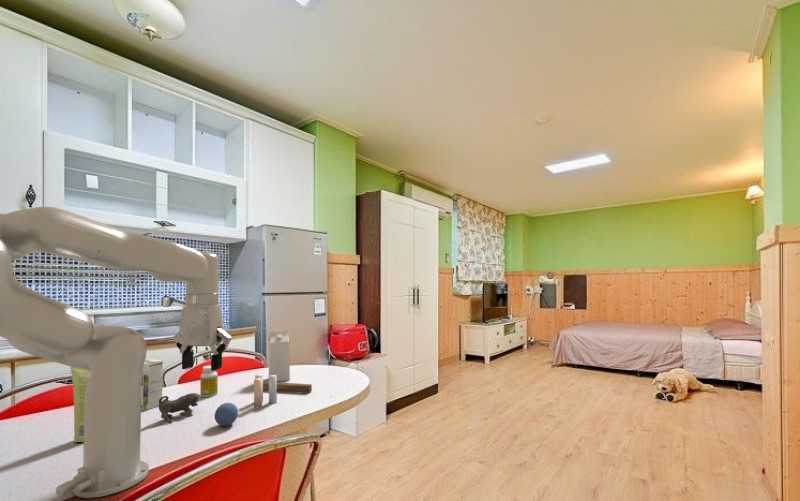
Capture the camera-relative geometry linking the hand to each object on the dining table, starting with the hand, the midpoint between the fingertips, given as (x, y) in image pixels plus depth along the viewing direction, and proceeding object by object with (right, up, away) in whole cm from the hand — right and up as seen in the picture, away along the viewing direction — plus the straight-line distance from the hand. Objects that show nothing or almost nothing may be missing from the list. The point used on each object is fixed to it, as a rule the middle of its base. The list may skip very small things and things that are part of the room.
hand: (201, 368), depth 100 cm
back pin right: (+10, -19, +26) cm, 34 cm away
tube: (-30, -19, +1) cm, 36 cm away
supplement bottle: (-16, -20, +35) cm, 44 cm away
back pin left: (+5, -19, +28) cm, 34 cm away
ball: (+3, -15, +8) cm, 18 cm away
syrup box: (-30, -20, +24) cm, 43 cm away
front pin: (+6, -19, +23) cm, 30 cm away
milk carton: (+3, -21, +53) cm, 57 cm away
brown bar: (+10, -20, +38) cm, 44 cm away
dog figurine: (-14, -19, +15) cm, 28 cm away
